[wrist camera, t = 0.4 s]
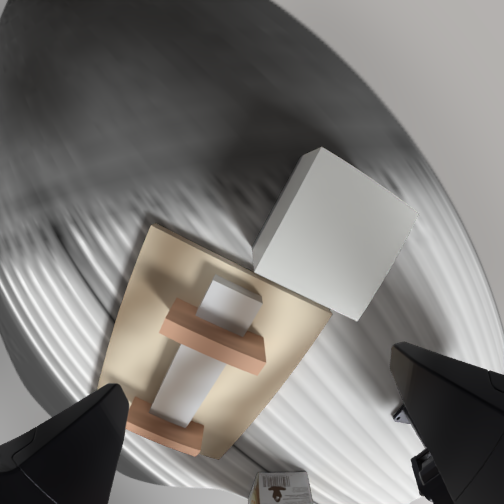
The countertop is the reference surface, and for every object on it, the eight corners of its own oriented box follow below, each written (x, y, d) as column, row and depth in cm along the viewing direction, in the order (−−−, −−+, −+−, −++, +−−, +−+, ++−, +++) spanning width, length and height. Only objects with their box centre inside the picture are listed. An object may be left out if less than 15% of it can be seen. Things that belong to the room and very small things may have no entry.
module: (378, 204, 19) (419, 213, 14) (331, 287, 20) (357, 321, 15) (300, 156, 18) (321, 146, 13) (251, 247, 20) (254, 272, 14)
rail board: (328, 308, 21) (345, 336, 17) (219, 453, 25) (217, 482, 21) (155, 223, 19) (133, 234, 15) (96, 401, 23) (81, 427, 19)
